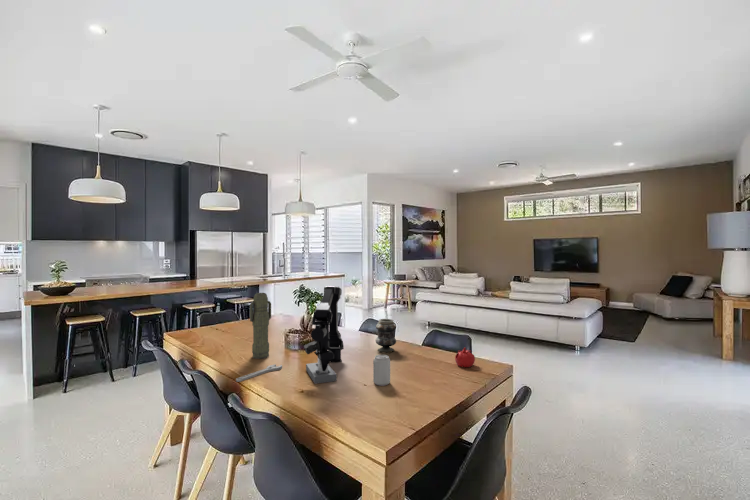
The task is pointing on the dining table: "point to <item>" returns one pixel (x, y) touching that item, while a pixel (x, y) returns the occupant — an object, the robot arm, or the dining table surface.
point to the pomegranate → (464, 358)
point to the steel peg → (321, 368)
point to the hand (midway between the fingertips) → (322, 369)
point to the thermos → (260, 325)
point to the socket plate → (320, 378)
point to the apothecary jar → (386, 335)
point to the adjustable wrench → (259, 372)
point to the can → (381, 370)
